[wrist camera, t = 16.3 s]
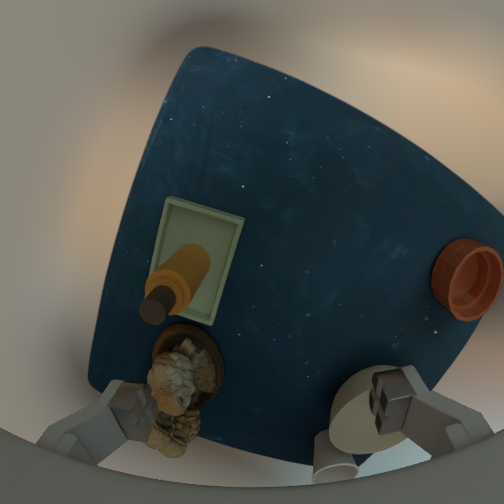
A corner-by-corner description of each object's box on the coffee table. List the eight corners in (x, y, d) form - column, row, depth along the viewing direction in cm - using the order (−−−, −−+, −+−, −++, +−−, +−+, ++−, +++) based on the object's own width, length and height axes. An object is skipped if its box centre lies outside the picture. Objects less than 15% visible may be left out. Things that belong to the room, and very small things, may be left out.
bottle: (171, 245, 40) (121, 287, 25) (207, 241, 39) (172, 284, 25) (178, 280, 41) (134, 336, 26) (213, 277, 41) (183, 336, 26)
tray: (171, 195, 39) (166, 197, 36) (245, 218, 39) (244, 221, 37) (149, 296, 43) (143, 302, 40) (214, 318, 43) (211, 326, 41)
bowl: (304, 373, 45) (310, 417, 35) (394, 325, 42) (420, 361, 32) (341, 425, 48) (350, 465, 38) (417, 386, 45) (437, 421, 35)
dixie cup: (358, 429, 48) (368, 467, 39) (333, 452, 50) (339, 489, 41) (324, 420, 48) (331, 461, 38) (299, 444, 50) (302, 483, 40)
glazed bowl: (431, 240, 38) (453, 251, 32) (484, 234, 37) (507, 244, 32) (426, 310, 41) (443, 327, 35) (477, 299, 40) (496, 313, 34)
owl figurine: (225, 410, 48) (211, 488, 31) (161, 401, 48) (131, 472, 32) (224, 323, 43) (201, 404, 27) (148, 316, 44) (97, 384, 27)
